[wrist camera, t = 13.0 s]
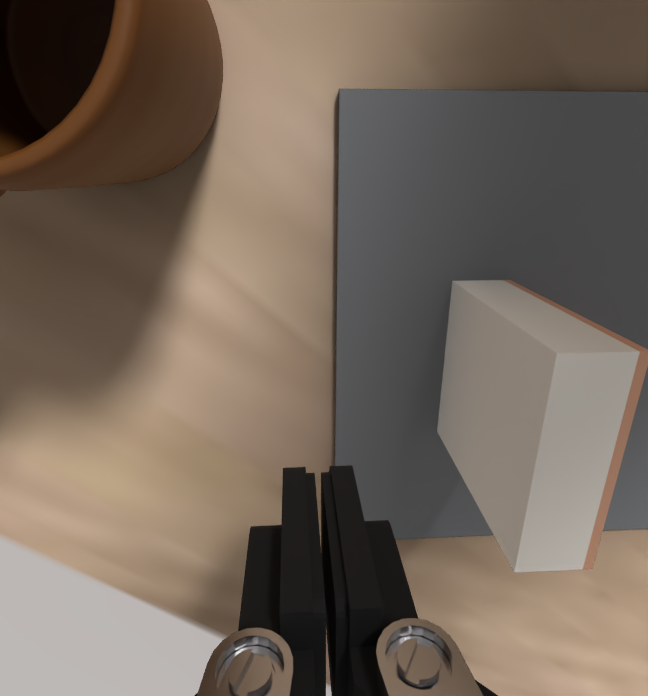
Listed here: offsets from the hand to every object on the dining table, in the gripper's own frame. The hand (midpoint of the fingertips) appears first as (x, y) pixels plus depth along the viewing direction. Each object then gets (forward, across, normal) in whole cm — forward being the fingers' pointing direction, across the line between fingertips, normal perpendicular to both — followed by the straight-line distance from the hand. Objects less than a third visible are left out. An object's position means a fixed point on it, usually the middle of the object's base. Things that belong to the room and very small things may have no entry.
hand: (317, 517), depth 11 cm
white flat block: (+9, -7, 0) cm, 12 cm away
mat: (+9, -11, -1) cm, 15 cm away
